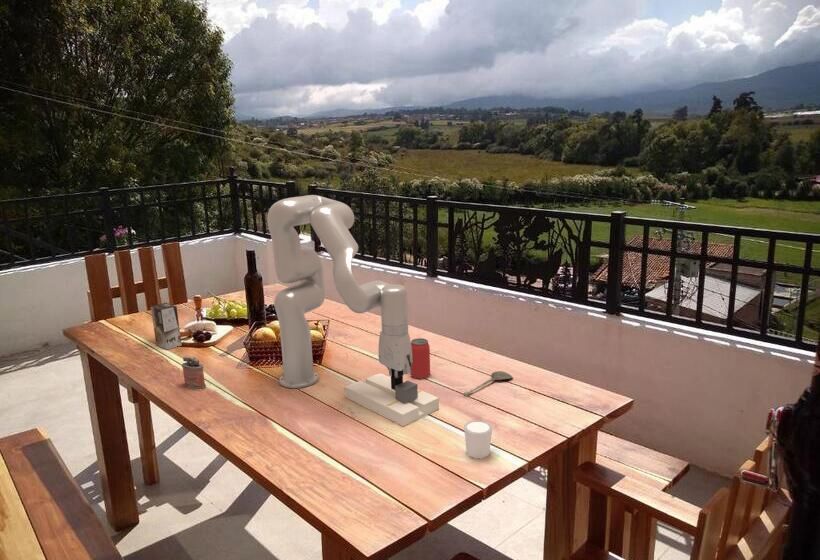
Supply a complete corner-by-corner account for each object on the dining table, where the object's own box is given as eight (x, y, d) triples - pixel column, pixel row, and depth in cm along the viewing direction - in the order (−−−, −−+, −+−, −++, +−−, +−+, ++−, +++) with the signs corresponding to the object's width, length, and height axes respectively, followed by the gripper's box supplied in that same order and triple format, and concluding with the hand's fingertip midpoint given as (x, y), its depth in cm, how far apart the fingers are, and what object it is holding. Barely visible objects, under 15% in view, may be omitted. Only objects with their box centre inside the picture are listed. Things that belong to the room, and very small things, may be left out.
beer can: (428, 380, 182) (427, 345, 179) (408, 379, 184) (407, 344, 181) (431, 372, 189) (431, 338, 186) (412, 371, 190) (411, 337, 187)
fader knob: (395, 406, 162) (395, 385, 160) (408, 401, 165) (407, 380, 163) (405, 411, 159) (404, 389, 157) (418, 405, 162) (417, 384, 160)
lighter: (208, 386, 182) (204, 357, 180) (200, 390, 179) (196, 361, 177) (189, 382, 186) (186, 354, 183) (181, 386, 183) (177, 357, 180)
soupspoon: (517, 380, 183) (500, 376, 187) (517, 370, 182) (500, 366, 187) (473, 400, 168) (456, 395, 173) (473, 389, 167) (456, 384, 172)
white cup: (461, 446, 143) (461, 420, 141) (488, 444, 143) (488, 419, 141) (466, 461, 136) (466, 434, 134) (494, 459, 136) (495, 432, 135)
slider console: (345, 397, 172) (344, 386, 171) (380, 383, 181) (380, 372, 180) (403, 426, 153) (402, 414, 152) (438, 409, 163) (438, 397, 162)
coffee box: (182, 345, 221) (177, 305, 217) (166, 350, 216) (160, 309, 212) (171, 340, 226) (166, 302, 223) (155, 345, 222) (149, 305, 218)
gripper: (367, 325, 162) (370, 385, 166) (403, 337, 151) (405, 400, 156) (387, 319, 167) (389, 377, 171) (423, 330, 156) (424, 392, 161)
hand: (397, 388), depth 164 cm, fingers closed
